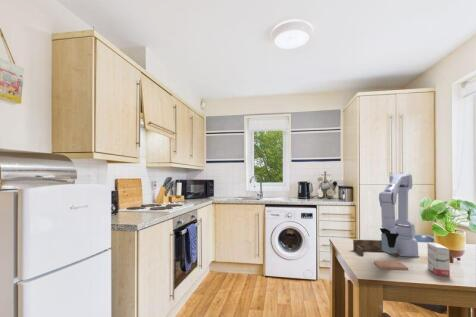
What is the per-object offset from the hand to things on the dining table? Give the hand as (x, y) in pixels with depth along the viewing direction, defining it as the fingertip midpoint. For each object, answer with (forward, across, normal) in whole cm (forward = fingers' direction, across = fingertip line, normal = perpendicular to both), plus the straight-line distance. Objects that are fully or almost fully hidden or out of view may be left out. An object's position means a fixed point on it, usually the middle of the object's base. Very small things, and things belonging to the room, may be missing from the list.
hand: (389, 245), depth 122 cm
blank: (+3, 0, 0) cm, 3 cm away
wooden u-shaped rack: (+10, +19, +2) cm, 22 cm away
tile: (+10, 0, 0) cm, 10 cm away
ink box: (+10, -2, -19) cm, 21 cm away
